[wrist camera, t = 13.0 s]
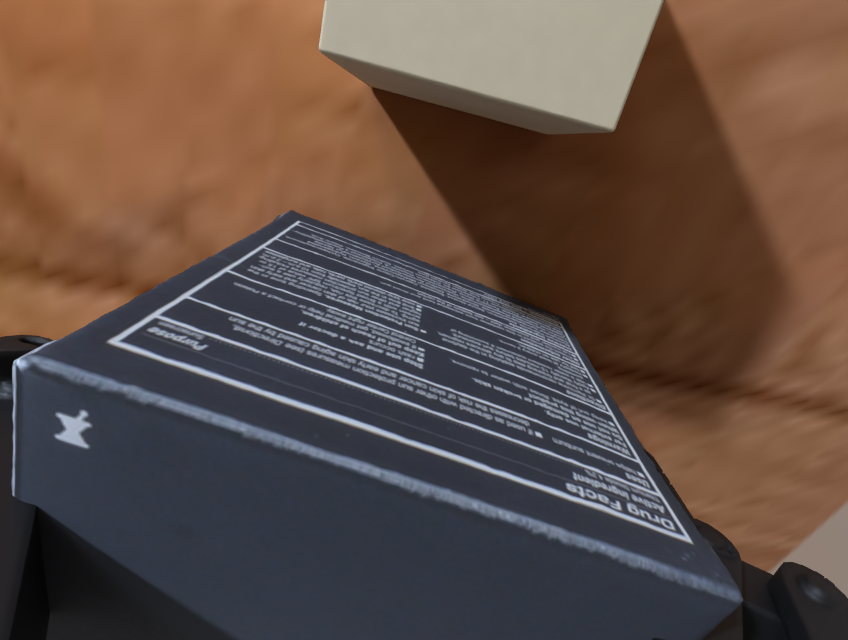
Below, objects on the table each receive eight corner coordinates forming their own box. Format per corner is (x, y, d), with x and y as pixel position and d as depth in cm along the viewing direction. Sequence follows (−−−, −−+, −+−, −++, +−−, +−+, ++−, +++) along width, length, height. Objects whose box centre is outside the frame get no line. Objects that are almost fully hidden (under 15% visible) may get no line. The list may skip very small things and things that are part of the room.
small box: (243, 365, 17) (-18, 660, 8) (285, 203, 15) (-18, 328, 5) (495, 453, 18) (552, 811, 9) (572, 315, 16) (774, 596, 6)
